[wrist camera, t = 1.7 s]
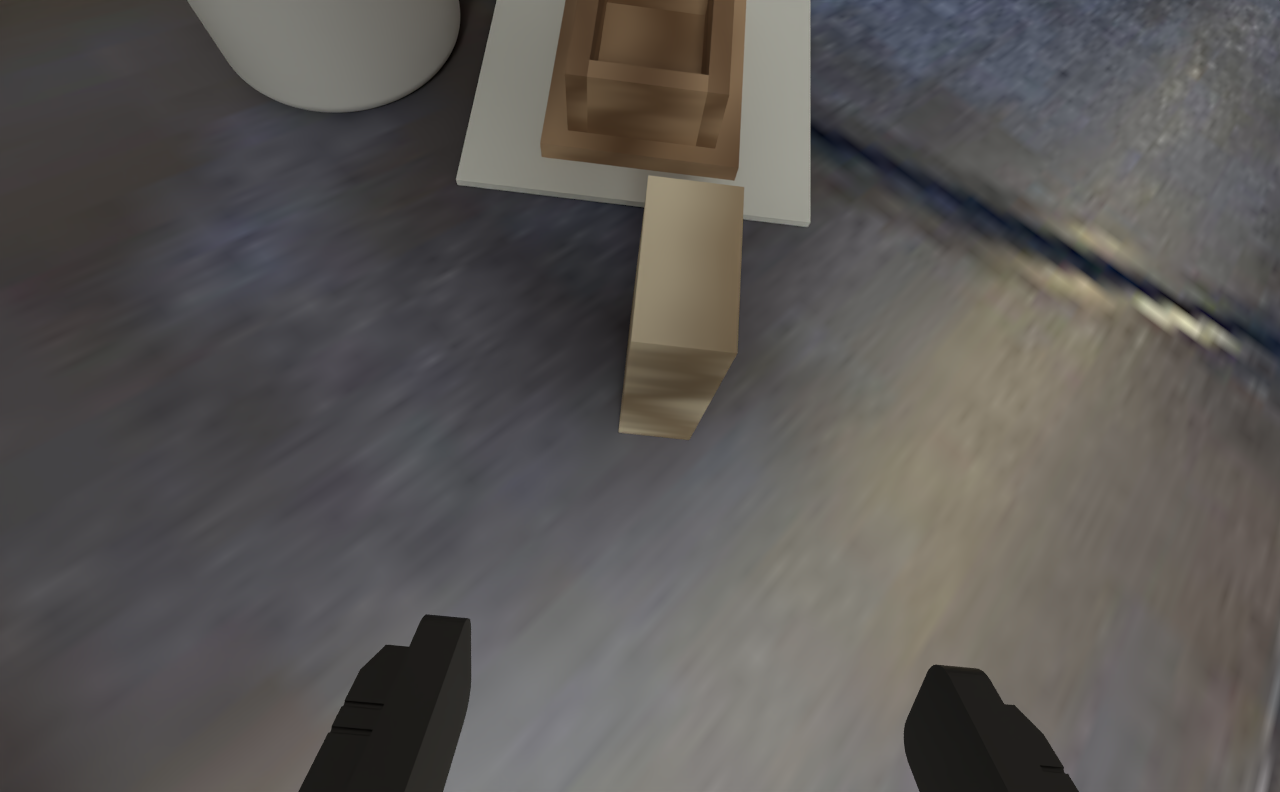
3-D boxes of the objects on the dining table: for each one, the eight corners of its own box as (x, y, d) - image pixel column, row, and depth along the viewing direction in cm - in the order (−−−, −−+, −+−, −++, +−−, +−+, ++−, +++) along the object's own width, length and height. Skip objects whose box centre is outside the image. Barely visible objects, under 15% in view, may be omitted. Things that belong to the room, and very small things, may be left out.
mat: (457, 184, 32) (455, 179, 31) (508, -40, 37) (507, -47, 37) (808, 227, 32) (810, 222, 32) (808, 0, 38) (810, -6, 37)
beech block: (618, 432, 28) (631, 341, 19) (631, 312, 30) (648, 175, 21) (689, 440, 28) (737, 353, 19) (697, 320, 30) (744, 187, 21)
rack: (541, 156, 32) (533, 87, 28) (571, -13, 36) (568, -96, 32) (734, 180, 32) (755, 115, 28) (742, 10, 36) (762, -70, 32)
